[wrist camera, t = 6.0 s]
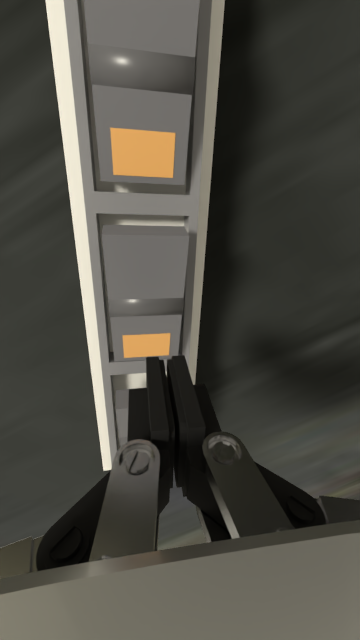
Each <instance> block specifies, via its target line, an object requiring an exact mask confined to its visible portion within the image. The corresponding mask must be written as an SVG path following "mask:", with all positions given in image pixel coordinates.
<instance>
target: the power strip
mask: <svg viewBox="0 0 360 640" xmlns="http://www.w3.org/2000/svg"><path fill="white" fill-rule="evenodd" d="M224 4H225V0H200V2H199V14H198V27H197V39H196V51H195V75H194V85H193V92H192V100H191V112H190V124H189V136H188V148H187V161H186V173H185V185H170V184H150V183H129V182H108V181H101V177H100V167H99V156H98V146H97V135H96V125H95V115H94V104H93V94H92V84H91V76H90V67H89V57H88V42H87V31H86V21H85V11H84V0H46V8H47V16H48V24H49V33H50V41H51V49H52V57H53V65H54V73H55V81H56V89H57V97H58V106H59V114H60V122H61V130H62V138H63V146H64V154H65V162H66V170H67V178H68V187H69V195H70V203H71V211H72V219H73V227H74V235H75V243H76V251H77V260H78V268H79V276H80V284H81V292H82V300H83V308H84V316H85V324H86V332H87V341H88V349H89V357H90V365H91V373H92V381H93V389H94V397H95V405H96V414H97V422H98V430H99V438H100V446H101V454H102V462H103V470H104V471H105V470H111V468H112V464H113V460H114V457H115V454H116V452H117V451H118V449H119V448H120V443H119V432H118V424H117V417H116V390H123V389H135V388H146V360H132V361H116V362H115V361H114V351H113V342H112V332H111V322H110V315H109V306H108V293H107V283H106V274H105V264H104V254H103V245H102V230H103V225H146V226H184V227H185V229H186V231H187V232H188V234H189V246H188V256H187V267H186V277H185V288H184V306H183V313H182V319H181V330H180V340H179V351H178V356H179V355H184V356H185V359H186V362H187V365H188V369H189V372H190V376H191V379H192V382H193V385H195V377H196V364H197V351H198V338H199V325H200V313H201V300H202V287H203V274H204V261H205V248H206V235H207V223H208V210H209V197H210V184H211V171H212V158H213V145H214V133H215V120H216V107H217V94H218V81H219V68H220V56H221V43H222V30H223V17H224ZM167 359H171V358H164V359H159V360H164V365H165V371H166V377H167Z"/></svg>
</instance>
